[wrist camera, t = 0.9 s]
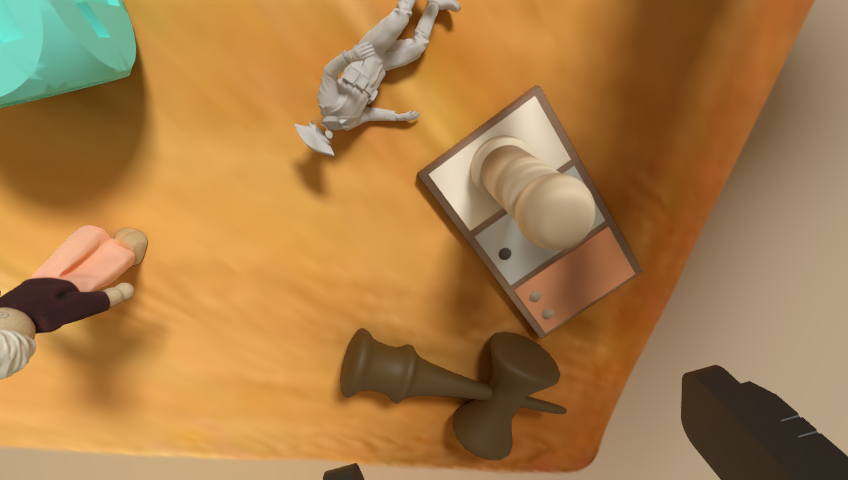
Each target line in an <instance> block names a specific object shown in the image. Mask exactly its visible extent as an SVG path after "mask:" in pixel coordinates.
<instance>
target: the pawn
mask: <svg viewBox="0 0 848 480" xmlns="http://www.w3.org/2000/svg"><path fill="white" fill-rule="evenodd" d="M470 171H471V177H472V180H473V183H474V184H475V186H476V187H477V188H478V189H479V191H480V192H481V193H482V194H483V195H484V196H485V197H487V198H488V199H490V200H493V201H496V202H498V203H499V204H500V205H501V206H502V207H503V208H504V209H505V210H506V212H507V213H508V214H509V215H510V216H511V217H512V218H513V219H514V220H515V221H516V222H517V225H518V227H519V229H520V231H521V233H522V234H523V236H524V237H525V238H526V239H527V240H528V241H529V242H531V243H532V244H534V245H536V246H538V247H540V248H543V249H547V250H562V249H567V248H570V247H572V246H574V245H576V244H577V243H579V242H580V241H582V240H583V239H584V238H585V237H586V235H587V234H588V233H589V231H590V230H591V228H592V225H593V223H594V219H595V203H594V199H593V197H592V194H591V192H590V191H589V189H588V188H587V187H586V186H585V185H584V184H583V183H582V182H581V181H580V180H578V179H577V178H575V177H573V176H570V175H567V174H562V173H560V172H558V171H556V170H555V169H553V168H552V167H550V166H549V165H547V164H545V163H544V162H542V161H541V160H539V159H537V158H536V156H535V154H534V152H533V151H532V149H531V148H530V147H529V146H528V145H527V144H525V143H524V142H522V141H520V140H519V139H517V138H515V137H512V136H506V135H503V136H496V137H493V138H491V139H489V140H487V141H485V142H484V143H483V144H482V145H481V146H480V147H479V148H478V149H477V151H476V152H475V154H474V156H473V158H472V162H471V169H470Z"/></svg>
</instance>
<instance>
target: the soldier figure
mask: <svg viewBox="0 0 848 480" xmlns="http://www.w3.org/2000/svg"><path fill="white" fill-rule="evenodd" d="M415 2H416V0H399V1H398V3H397V4H398V5H397V8H395V9H394V10H393V11H392V12H391V13H390V14H389V15H388V16H387V17H385V18H384V19H382V20H381V21H380V22H379V23H378V24H377V25H376V26H374V27H373V28H372V29H371V30H370V31H368V32H367V33H366V34H365V35H364V37H363V38H362V39H361V40H360V42H359V43H358V44H357V46H356V45H354V47H353V49H352V50H350V51H349V52H348V51H346V50H345V51H343V52H342V53H341V54H340V55H338V56H337V57H336V58H334V59H333V60H332V61H331V62H329V63H328V64H327V65H326V66H325V68H324V69H323V75H322V79H321V85H320V87H319V89H320V90H319V93H318V97H317V98H318V102H319V106H320V109H321V115H323V118H322V123H323V125H322V126H325V127H327V128H328V129H331V130H341V129H344V130H346V131H348V130H350V129H353V128H355V127H357V126H359V125H361V124H362V123H364V122H368V121H396V120H398V121H404V120H407V121H410V120H414V119H416V118H418V117H419V116H420V114H419V112H418V113H416V114H415V115H413V114H414V113H415V112H416V111H414V112H412V113H411V111H409V112H407V113H401V114H396V112H395V111H392V110H386V109H381V108H374V107H372V108H370V107H366V105H367V104H370V103H372V102H373V101H374V99H375V98H376V96H377V93H378V91H376V90H377V89H378V87H379V86H380V83H381V81H382V79H383V78H384V77H385V75H386V73H385V71H388V70H391V69H394V68H398V67H402V66H404V65H407V64H409V63H411V62H413V61H415V60H417V59H418V58H419V57H420V56H421V53H422V52H423V51H425V49H426V47H427V46H428V44H429V38H430V34H431V30H432V27H433V24H434V21H435V18H436V16H437V14H438V11H439V10H444V9H448V10H451V11H454V12H458V11H459V10H461V8H460V5H459V3H458V2H457V1H456V0H428V5H427V6H426V7H425V9H424V12H423V15H422V17H421V18H420V20H419V22H418V25H417V27H416V29H415V31H414V33H415V36H413V38H411V39H410V38H408V39H405V40H403V39H399V40H396V39H397V38H398V36H399V35H400V34H401V33H402V31H403V29H404V28H405V27H406V25H407V24H408V22H409V18H410V17H411V16H412V11H411V10H412V8H413V6H414V4H415ZM343 70H344V74H343V75H342V77H341V78H340V79H339V80H338V75H339V74H340V73H341V72H342V71H343ZM410 113H411V114H410ZM313 120H314V119H313ZM315 120H317V119H315ZM317 121H318V120H317ZM294 126H295V128H296V130H297V132H298V134H299V135H300V137H301V138H302V140H303V141H304V142H305V143H306V144H307V146H308V147H309V148H310V149H312V150H313V151H315V152H319V153H321V154H324V155H328V156H335V155H334V153H333V150H332V148H331V146H330V145H329V144H330V142H331V140H330V142H329V141H328V139H327V138H329V139H331V138H332V137H333V134H332V132H331V131H329V130H327V131H326V132H325V134H326V136H327V138H326V137H325V135H324V134H323V133H322V131H321V130H320V129H319V128H318V127H317V126H316V124H314V123H312V122H310V123H309V124H308V126H301V125H298V124H294ZM327 128H326V129H327Z"/></svg>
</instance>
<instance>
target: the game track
mask: <svg viewBox="0 0 848 480" xmlns="http://www.w3.org/2000/svg"><path fill="white" fill-rule="evenodd" d="M503 135H506V136H512V137H515V138H517V139H519V140H520V141H522V142H524V143H525V144H527V145H528V146H529V147H530V148H531V149H532V151H533V152H534V154H535V156H536V158H537V159H539V160H541V161H542V162H544V163H545V164H547V165H549V166H550V167H552V168H553V169H555V170H556V171H558V172H560V173H562V174H567V175H570V176H573V177H575V178H577V179H578V180H580V181H581V182H582V183H583V184H584V185H585V186H586V187H587V188H588V189H589V191H590V192H591V194H592V197H593V199H594V203H595V219H594V223H593V225H592V228H591V230H590V231H589V233H588V234H587V235H586V237H585V238H584V239H583V240H582V241H580V242H579V243H577V244H576V245H574V246H572V247H570V248H567V249H562V250H547V249H543V248H540V247H538V246H536V245H534V244H532V243H531V242H529V241H528V240H527V239H526V238H525V237H524V236H523V234H522V233H521V231H520V229H519V227H518V225H517V222H516V221H515V220H514V219H513V218H512V217H511V216H510V215H509V214H508V213H507V212H506V210H505V209H504V208H503V207H502V206H501V205H500V204H499V203H498V202H496V201H493V200H490V199H488V198H487V197H485V196H484V195H483V194H482V193H481V192H480V191H479V189H478V188H477V187H476V186H475V184H474V183H473V180H472V177H471V171H470V169H471V162H472V158H473V156H474V154H475V152H476V151H477V149H478V148H479V147H480V146H481V145H482V144H483V143H484V142H485V141H487V140H489V139H491V138H493V137H496V136H503ZM417 174H418V176H419V177H420V178H421V180H422V181H423V182H424V184H425V185H426V186H427V188H428V189H429V190H430V192H431V193H432V194H433V196H434V197H435V198H436V200H437V201H438V202H439V204H440V205H441V206H442V208H443V209H444V210H445V212H446V213H447V214H448V216H449V217H450V218H451V220H452V221H453V222H454V224H455V225H456V226H457V228H458V229H459V230H460V232H461V233H462V234H463V236H464V237H465V238H466V240H467V241H468V242H469V244H470V245H471V246H472V248H473V249H474V250H475V252H476V253H477V254H478V256H479V257H480V258H481V260H482V261H483V262H484V264H485V265H486V266H487V268H488V269H489V270H490V272H491V273H492V274H493V276H494V277H495V278H496V280H497V281H498V282H499V284H500V285H501V286H502V288H503V289H504V290H505V292H506V293H507V294H508V296H509V297H510V298H511V300H512V301H513V302H514V304H515V305H516V306H517V308H518V309H519V310H520V312H521V313H522V314H523V316H524V317H525V318H526V320H527V321H528V322H529V324H530V325H531V326H532V328H533V329H534V330H535V332H536V333H537V334H538V336H539V337H540V338H543V337H544V336H546V335H547V334H549V333H550V332H552V331H553V330H555V329H556V328H558V327H559V326H561V325H562V324H564V323H565V322H567V321H568V320H570V319H572V318H573V317H575V316H576V315H578V314H579V313H581V312H582V311H584V310H585V309H587V308H588V307H590V306H591V305H593V304H594V303H596V302H597V301H599V300H600V299H602V298H603V297H605V296H606V295H608V294H609V293H611V292H612V291H614V290H615V289H617V288H618V287H620V286H622V285H623V284H625V283H626V282H628V281H629V280H631V279H632V278H634V277H635V276H637V275H638V274H640V273H641V272H642V270H641V268H640V267H639V265H638V263H637V261H636V259H635V257H634V256H633V254H632V252H631V250H630V248H629V247H628V245H627V243H626V241H625V239H624V238H623V236H622V234H621V232H620V230H619V228H618V227H617V225H616V223H615V221H614V219H613V218H612V216H611V214H610V212H609V210H608V209H607V207H606V205H605V203H604V201H603V200H602V198H601V196H600V194H599V192H598V190H597V189H596V187H595V185H594V183H593V181H592V180H591V178H590V176H589V174H588V172H587V171H586V169H585V167H584V165H583V163H582V161H581V160H580V158H579V156H578V154H577V152H576V151H575V149H574V147H573V145H572V143H571V142H570V140H569V138H568V136H567V134H566V133H565V131H564V129H563V127H562V125H561V123H560V122H559V120H558V118H557V116H556V114H555V113H554V111H553V109H552V107H551V105H550V104H549V102H548V100H547V98H546V96H545V94H544V93H543V91H542V89H541V87H540V86H536V85H535V86H534V87H533V88H531V89H530V90H529V91H527V92H526V93H525V94H523V95H522V96H521V97H519V98H518V99H517V100H515V101H514V102H512V103H511V104H510V105H508V106H507V107H506V108H504V109H503V110H502V111H500V112H499V113H498V114H496V115H495V116H494V117H492V118H491V119H490V120H488V121H487V122H485V123H484V124H483V125H481V126H480V127H479V128H477V129H476V130H475V131H473V132H472V133H471V134H469V135H468V136H467V137H465V138H464V139H463V140H461V141H460V142H459V143H457V144H456V145H454V146H453V147H452V148H450V149H449V150H448V151H446V152H445V153H444V154H442V155H441V156H440V157H438V158H437V159H436V160H434V161H433V162H432V163H430V164H429V165H428V166H426V167H425V168H423V169H422V170H421V171H419V172H418V173H417Z"/></svg>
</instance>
